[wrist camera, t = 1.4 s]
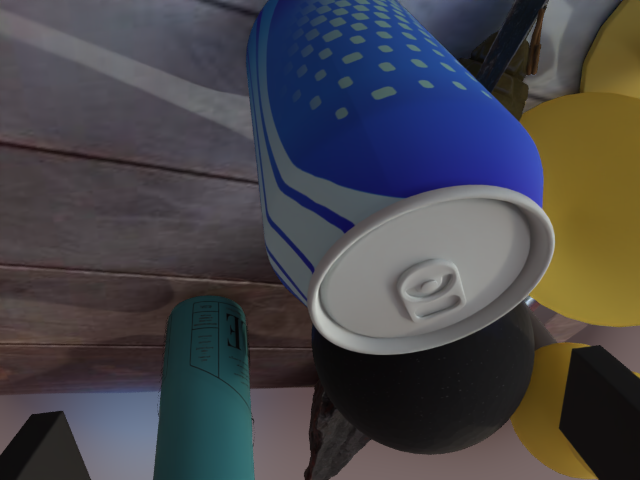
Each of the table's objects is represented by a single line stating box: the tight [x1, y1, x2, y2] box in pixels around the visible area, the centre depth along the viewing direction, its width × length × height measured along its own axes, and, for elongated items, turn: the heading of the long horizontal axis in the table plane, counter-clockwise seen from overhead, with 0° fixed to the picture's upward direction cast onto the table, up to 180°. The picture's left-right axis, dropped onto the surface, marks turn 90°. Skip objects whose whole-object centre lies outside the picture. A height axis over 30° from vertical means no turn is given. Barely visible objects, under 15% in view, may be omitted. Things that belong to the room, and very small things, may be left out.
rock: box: [304, 379, 371, 480], centre depth 46 cm, size 7×18×9 cm
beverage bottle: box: [153, 296, 255, 480], centre depth 28 cm, size 6×7×20 cm
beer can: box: [246, 0, 555, 355], centre depth 16 cm, size 8×8×16 cm
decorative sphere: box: [312, 300, 535, 455], centre depth 29 cm, size 15×15×15 cm
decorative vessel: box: [510, 92, 640, 480], centre depth 29 cm, size 25×14×13 cm
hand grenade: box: [458, 0, 549, 121], centre depth 22 cm, size 5×6×10 cm
